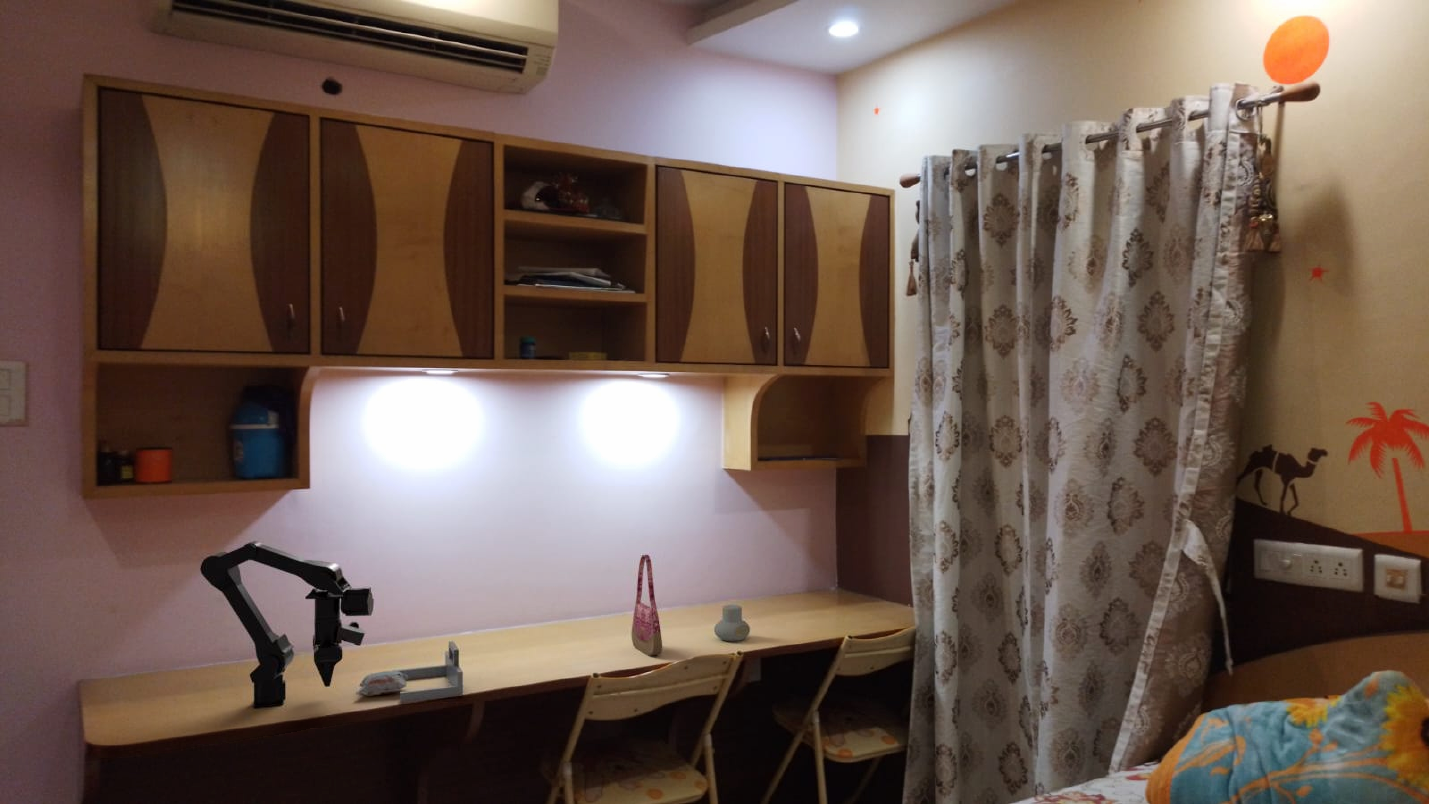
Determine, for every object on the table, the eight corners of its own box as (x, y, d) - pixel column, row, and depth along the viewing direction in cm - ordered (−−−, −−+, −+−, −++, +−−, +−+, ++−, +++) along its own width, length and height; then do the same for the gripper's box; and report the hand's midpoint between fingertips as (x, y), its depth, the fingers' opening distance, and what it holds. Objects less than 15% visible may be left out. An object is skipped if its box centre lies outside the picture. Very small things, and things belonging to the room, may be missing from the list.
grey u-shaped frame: (400, 703, 229) (400, 662, 229) (392, 680, 248) (392, 641, 248) (462, 696, 235) (462, 655, 235) (449, 673, 254) (449, 636, 254)
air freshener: (734, 634, 298) (734, 602, 298) (754, 638, 292) (754, 606, 292) (709, 640, 290) (709, 607, 290) (729, 645, 284) (729, 611, 284)
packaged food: (407, 694, 233) (405, 674, 233) (355, 701, 230) (354, 681, 230) (409, 685, 242) (408, 666, 242) (359, 691, 239) (358, 672, 239)
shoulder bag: (630, 645, 284) (631, 551, 284) (640, 644, 285) (640, 550, 285) (653, 659, 269) (653, 559, 269) (662, 657, 270) (662, 559, 270)
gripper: (365, 621, 225) (364, 688, 225) (360, 606, 242) (360, 667, 242) (314, 626, 221) (313, 693, 220) (312, 609, 238) (312, 672, 238)
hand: (326, 681), depth 230 cm, fingers open, 9 cm apart
